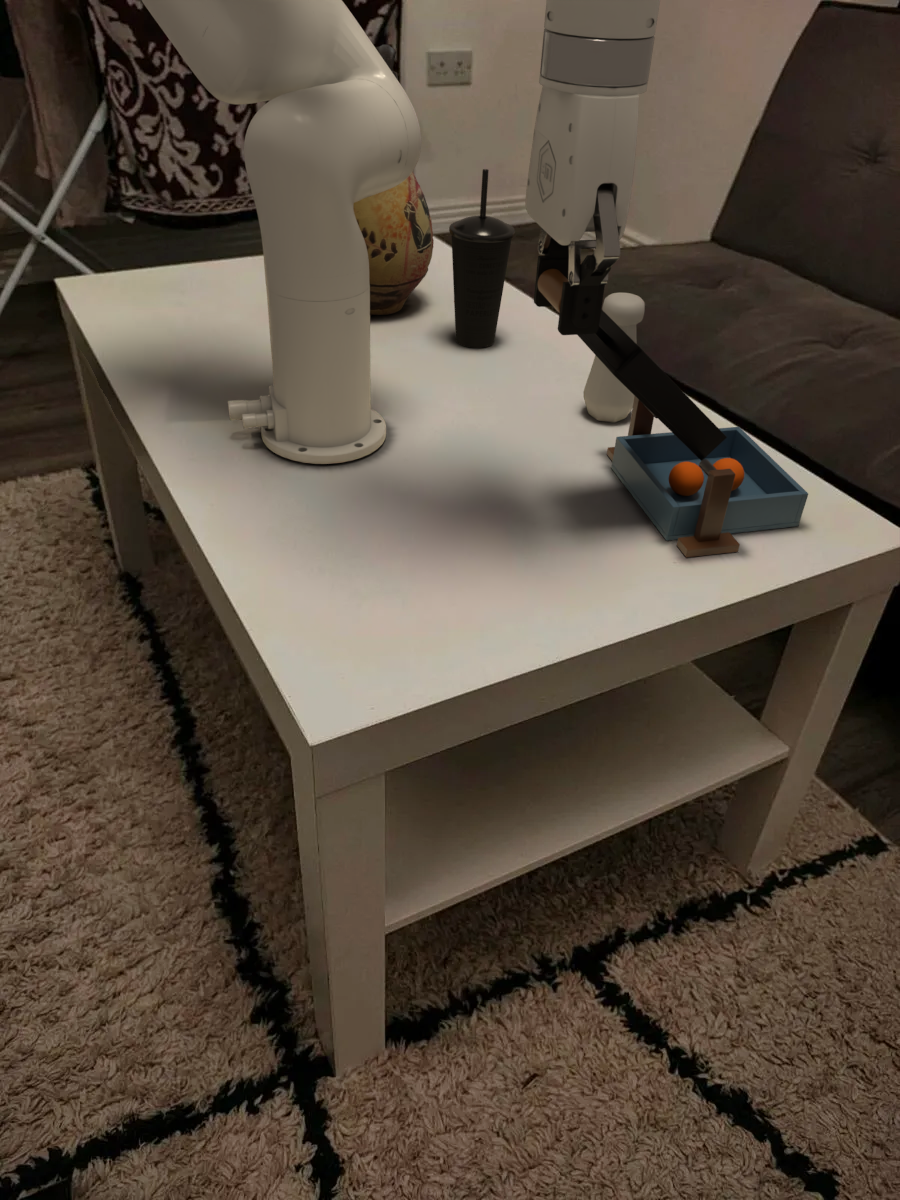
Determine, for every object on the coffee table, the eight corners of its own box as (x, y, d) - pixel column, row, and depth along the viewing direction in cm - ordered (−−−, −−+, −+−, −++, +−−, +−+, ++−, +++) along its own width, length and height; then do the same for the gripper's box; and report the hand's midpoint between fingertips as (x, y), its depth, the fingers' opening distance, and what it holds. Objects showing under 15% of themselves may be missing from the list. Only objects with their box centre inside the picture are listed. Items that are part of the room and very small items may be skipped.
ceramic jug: (429, 328, 123) (438, 62, 105) (308, 322, 122) (296, 54, 104) (433, 282, 136) (441, 40, 118) (324, 277, 136) (315, 33, 118)
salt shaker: (632, 429, 102) (652, 309, 94) (578, 422, 103) (594, 303, 95) (634, 405, 107) (654, 290, 99) (583, 399, 108) (599, 284, 100)
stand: (686, 557, 83) (703, 483, 79) (606, 454, 98) (617, 386, 93) (738, 551, 84) (758, 478, 80) (651, 450, 99) (664, 383, 94)
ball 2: (725, 467, 88) (755, 469, 89) (710, 451, 91) (739, 452, 92) (713, 497, 90) (743, 498, 91) (698, 480, 93) (727, 481, 94)
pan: (556, 319, 72) (584, 290, 71) (521, 280, 79) (546, 252, 78) (701, 461, 84) (727, 437, 83) (660, 416, 90) (683, 393, 90)
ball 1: (703, 502, 90) (672, 501, 89) (688, 485, 93) (658, 484, 92) (714, 472, 88) (683, 471, 87) (699, 456, 91) (669, 454, 90)
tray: (666, 540, 85) (673, 507, 83) (611, 468, 95) (616, 436, 93) (798, 526, 88) (808, 493, 86) (731, 457, 98) (739, 426, 96)
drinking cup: (486, 358, 116) (498, 182, 104) (432, 342, 119) (438, 170, 107) (516, 338, 121) (531, 169, 109) (464, 324, 124) (473, 158, 112)
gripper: (508, 43, 72) (491, 284, 83) (587, 85, 59) (554, 364, 70) (601, 44, 74) (572, 280, 85) (699, 86, 61) (650, 359, 72)
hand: (565, 316), depth 77 cm, fingers closed on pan, 5 cm apart
